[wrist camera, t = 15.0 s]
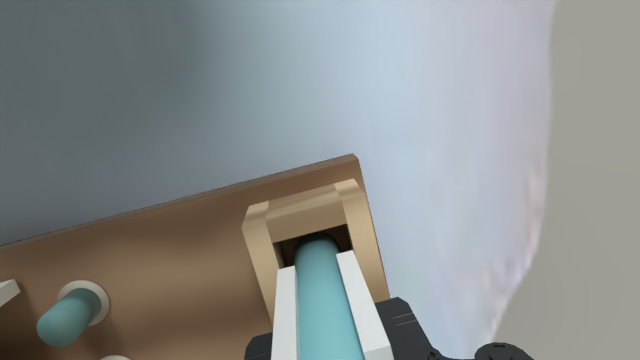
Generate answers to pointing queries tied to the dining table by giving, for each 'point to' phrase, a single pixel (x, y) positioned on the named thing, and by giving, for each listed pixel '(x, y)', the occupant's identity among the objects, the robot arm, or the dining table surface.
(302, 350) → the peg
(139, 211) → the board
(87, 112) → the dining table surface
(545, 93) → the dining table surface
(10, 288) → the cover
